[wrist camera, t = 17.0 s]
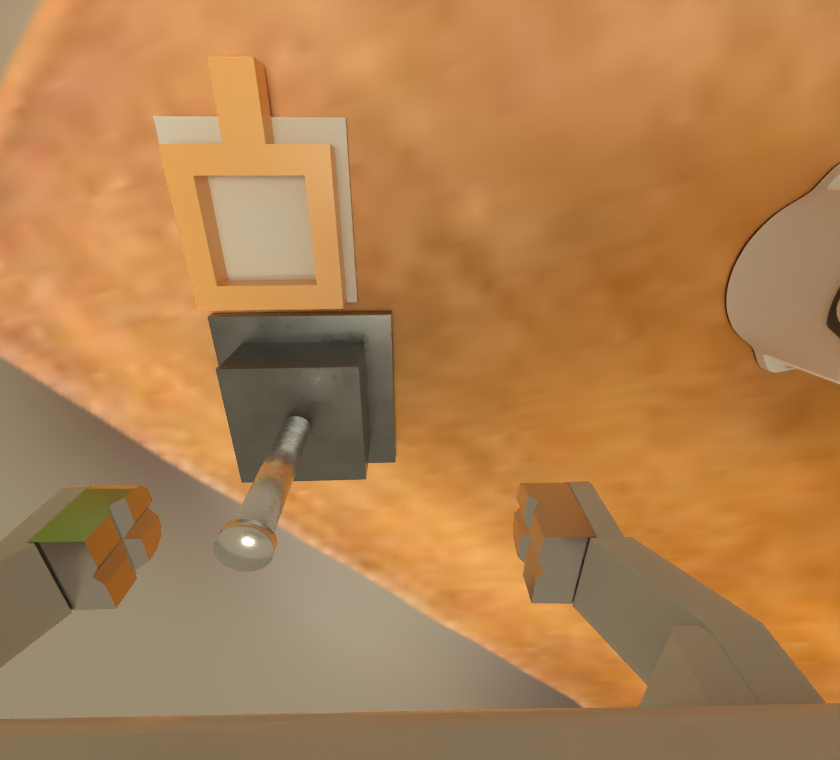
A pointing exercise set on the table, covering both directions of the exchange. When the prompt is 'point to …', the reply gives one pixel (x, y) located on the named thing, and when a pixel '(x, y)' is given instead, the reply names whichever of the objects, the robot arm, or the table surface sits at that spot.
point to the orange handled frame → (252, 156)
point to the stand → (299, 410)
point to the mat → (271, 202)
